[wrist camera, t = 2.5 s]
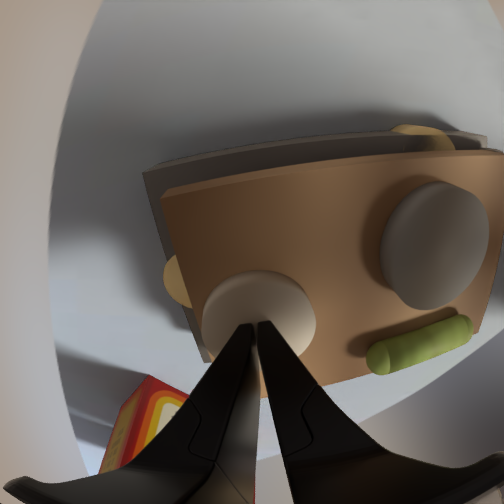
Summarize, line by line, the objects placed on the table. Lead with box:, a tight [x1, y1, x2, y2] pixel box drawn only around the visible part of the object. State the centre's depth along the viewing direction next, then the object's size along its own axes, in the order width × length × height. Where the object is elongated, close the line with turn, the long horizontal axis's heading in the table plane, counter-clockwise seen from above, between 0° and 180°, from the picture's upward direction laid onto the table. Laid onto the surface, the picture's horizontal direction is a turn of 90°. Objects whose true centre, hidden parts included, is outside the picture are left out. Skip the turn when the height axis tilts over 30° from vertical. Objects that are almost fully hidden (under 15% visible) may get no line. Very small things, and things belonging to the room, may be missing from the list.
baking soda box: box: [98, 375, 255, 504], centre depth 14 cm, size 10×6×16 cm
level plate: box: [160, 148, 504, 398], centre depth 10 cm, size 14×9×3 cm, turn 100°
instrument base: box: [142, 124, 487, 363], centre depth 13 cm, size 16×11×2 cm
